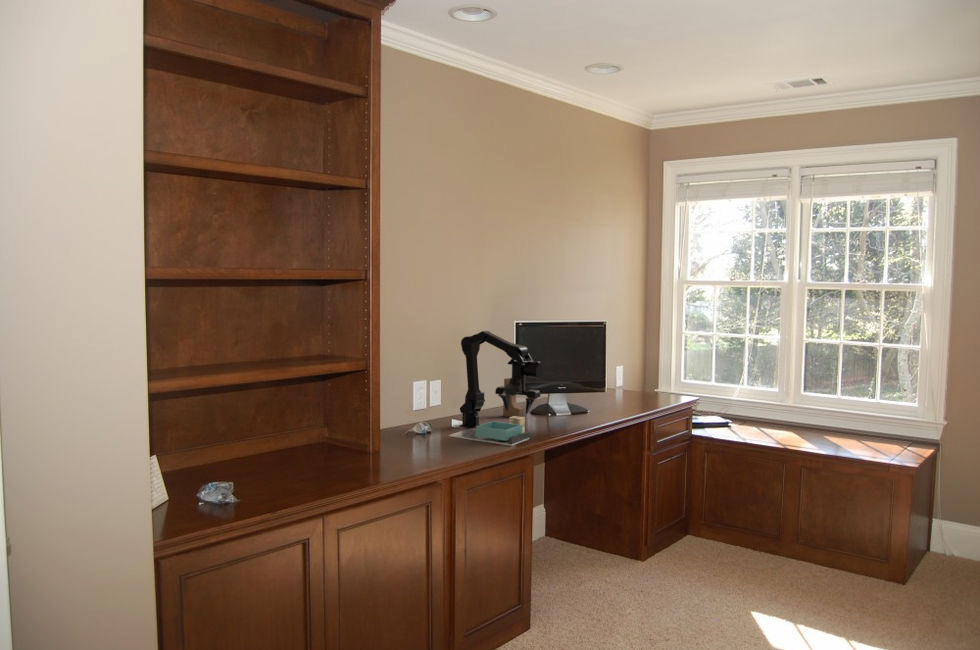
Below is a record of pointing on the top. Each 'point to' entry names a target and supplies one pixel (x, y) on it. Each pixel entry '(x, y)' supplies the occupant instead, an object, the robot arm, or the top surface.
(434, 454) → the top surface
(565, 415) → the top surface
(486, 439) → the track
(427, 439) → the top surface
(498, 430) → the teal storage bin
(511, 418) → the part
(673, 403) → the top surface
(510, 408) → the wooden block
